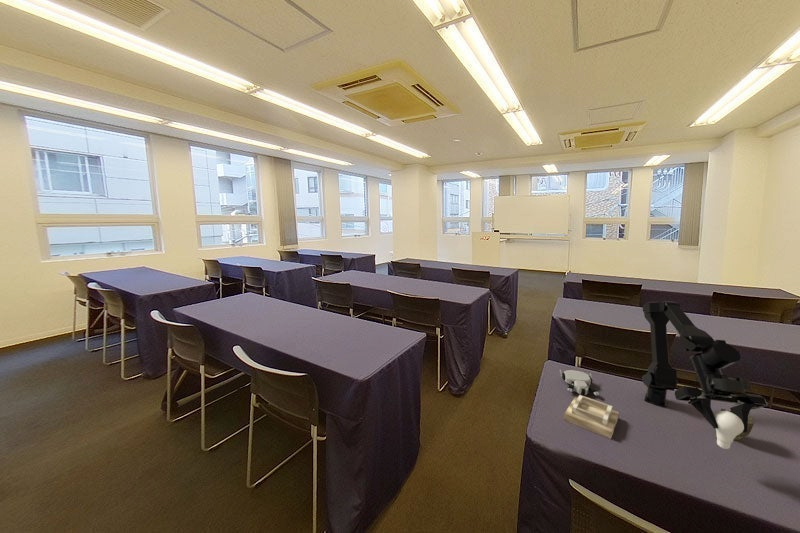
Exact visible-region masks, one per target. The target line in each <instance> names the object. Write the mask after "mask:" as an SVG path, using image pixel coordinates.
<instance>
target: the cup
mask: <svg viewBox="0 0 800 533" xmlns="http://www.w3.org/2000/svg"><path fill="white" fill-rule="evenodd" d="M719 411H728V412H731V410H730V411H729V410H726V408H721V409H720V410H719ZM731 413H732V412H731ZM755 422H756V421H755V420H754V419H753V418H751V416H748V427H747V433H743V432H742V433H740V434H739V435H737V436H736V437H735V438H734V439H733V441H737V442H738V441H741V440H742V438H746V437H748V436H749V435H750V434H751V432H752V429H753V427H754V424H755Z"/></svg>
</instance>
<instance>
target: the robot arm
mask: <svg viewBox="0 0 800 533" xmlns="http://www.w3.org/2000/svg"><path fill="white" fill-rule="evenodd" d="M642 312H643V315H644V316H643V317H644V318H645V319H646V321H648V323H649V325H650V326H649V327H650V344H651V356H652V357H651V358H652V361H651V363H650V364H649V366H648V367H647V373H645V374H643V375H642V376H641V381H642V383H643V384H644V385H645V386H646V388H647V390H646V393H645V395H644V401H645V402H647V403H651V404H654V405H656V406H659V407H663V408H667V403H668V402H667V401H668V399H667V394H668V391H673V392H674V396H675V399H676V400H677V401H681V402H682V401H684V402H687V404H688V405H691V406H692V407H693V408H695V410H697V411H698V412H699V413H700V414H701V416H702V417H704V419H705V420H706V421H707V422H708V423H709V424H710V425H711V427H712V428H713V429H715V430H716V429H717V428H718V426H717V422H716V419H715V417H714V412H713V409H712V406H711V402H712V401H714V402H715V401H717V402H724V403H731V405H732V407H729V409H730V410H731V412H732V413H733V414H735V415H737V416H738V417H739V418H740V419H741V420H742V422H743V424H744V430H743V431H742V432H743V433H747V427H748V417H749V415H750V414H749V413H750V411H751V410H757V409H760V408H764V407H767V406H769V404H768V402H767V401H766V398H764V397H763V396H762V395H760V394H753V393H746V391H752V389H753V388H752V384H751V382H750V380H749V378H747V377H738V376H736V377H735V379H729V377H728V375H726V374H723V373H722V370H721V369H725V368H727V367H729V366H731V365H733V364H735V363H738V362H739V361H740V360H741V353H740V352H739V350H737V349H736V348H735V347H734V346H732V345H730V344H728V343H727V342H726V340H725V339H722V340H721V339H714V338H713V337H712V336H711V335H710V334H709V333H707V331H705V330H703V329H700V328H699V327H697V326H696V325H695V324H694V323H693V321H692V320H691V319H690V318H689V316H688V315H687V314H686V313H685V312H684V310H683V309H682V308H681V304H680V303H679V302H676V301H669V300H667V301H666V300H663V301H646V302H645V303H643V305H642ZM669 322H670V323H671V324H672V325H673V327H674V328H675V330H676V331H677V333H678V342H679V344H680V346H681V347H682V349H683V350H684V351H685V352H689V353H690V352H693V353H696V354H690V357H689V358H688V360H687V363H690V364H692V366H693V368H694V372H695V373H696V377H695V379H694V380H695V382H697V383H699V385H700V387H701V389H700V388H698V387H696V386H695V387H694V386H687V385H686V386H685V385H683V386H681V387H680V388H677V389H676V387H677V385H678V383H679V380H678V376H677V373H678V371H677V369H676V368H674V367H673V366H672V365H671V364H670V357H669V345H668V331H667V324H668V323H669ZM737 393H740V394H739V395H736V394H737Z"/></svg>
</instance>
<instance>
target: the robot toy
mask: <svg viewBox="0 0 800 533" xmlns="http://www.w3.org/2000/svg"><path fill="white" fill-rule="evenodd" d="M559 372H560V377H561V378H562V379H563V381H565V382H566V383H567V384H569V385H568V387H567V392H571V393H572V392H573V391H575V393H577V394H578V395H582V396H588V393H591V394H592V395H594V396H600V393H599V392H598V391H597V389H596V388H594V387H591V385H592V384H593V382H594V379H593V376H592V374H591V372H590V373H589V374H588V373H587V372H583V371H580V370H579V371H578V370H572V369H569V370H564V371H563V372H562V370H561V369H559Z"/></svg>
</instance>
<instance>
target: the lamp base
mask: <svg viewBox="0 0 800 533" xmlns="http://www.w3.org/2000/svg"><path fill="white" fill-rule="evenodd" d="M613 407H614V406H613V405H611V404H607V403H605V402H602V401H599V400H596V399H594V398H590V397H587V396H586V395H583V394H578V397H576V396H574V398H573V399H572V401H571V403H570V404H569V406H568V407H567V409H566V411H565V412H564V415H563V420H564V421H565V422H567V423H570V424H572V425H575V426H577V427H580V428H582V429H585V430H588V431H590V432H592V433H595V434H597V435H599V436H602V437H605V438H607V439H609V440H611V439H612V437H613V434H614V432H615V428H616V426H617V423H618V420H619V414H620V412H619V411H617V410H614V409H613Z"/></svg>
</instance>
